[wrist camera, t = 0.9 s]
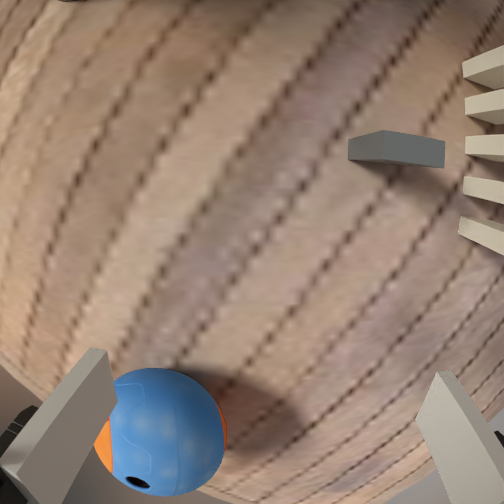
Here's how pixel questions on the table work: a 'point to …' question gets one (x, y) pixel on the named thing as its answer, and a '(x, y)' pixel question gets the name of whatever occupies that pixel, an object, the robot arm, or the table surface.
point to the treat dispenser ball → (162, 433)
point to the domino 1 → (397, 149)
